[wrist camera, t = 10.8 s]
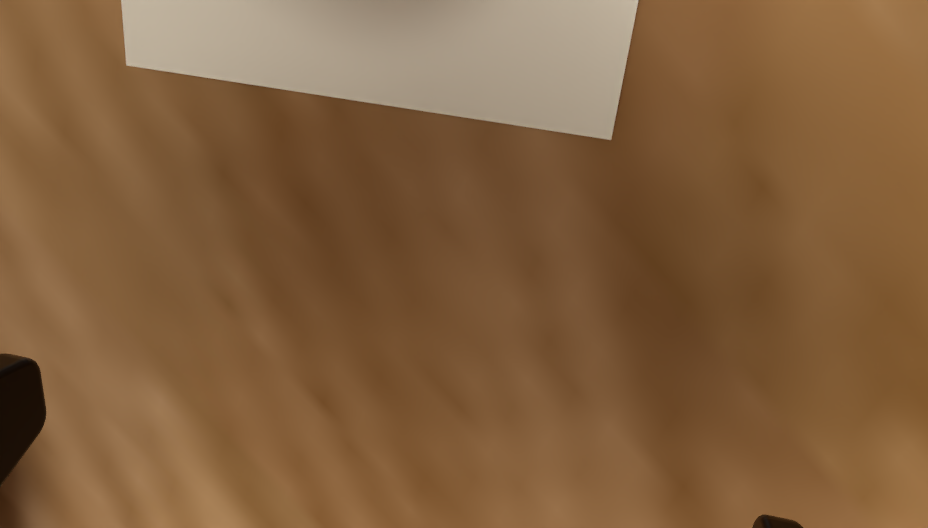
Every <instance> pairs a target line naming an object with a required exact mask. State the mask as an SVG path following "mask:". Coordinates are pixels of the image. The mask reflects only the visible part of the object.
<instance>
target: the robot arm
mask: <svg viewBox="0 0 928 528" xmlns="http://www.w3.org/2000/svg"><path fill="white" fill-rule="evenodd" d="M45 419H46V406H45V399H44V392H43V386H42V379H41V372H40V368H39V366H38V364H37V363H36V362H35V361H34V360H32V359H30V358H26V357H21V356H16V355H12V354H0V486H1V485H2V484H3V482H4V481H5V479H6V478H7V477H8V475H9V474H10V473H11V471H12V470H13V469H14V467H15V466H16V464H17V463H18V462H19V460H20V459H21V458H22V456H23V455H24V453H25V452H26V451H27V449H28V448H29V447H30V445H31V444H32V443H33V441H34V440H35V438H36V437H37V436H38V434H39V433H40V431H41V430H42V427H43V425H44V422H45ZM752 528H803V527H802V526H801V525H800V524H799V523H797V522H796V521H793V520H789V519H784V518H780V517H775V516H770V515H761V516H759V517H758V518H757V519H756V521H755V522H754V525H753V527H752Z"/></svg>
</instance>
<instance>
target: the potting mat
mask: <svg viewBox="0 0 928 528" xmlns="http://www.w3.org/2000/svg"><path fill="white" fill-rule="evenodd" d="M121 3H122V16H123V29H124V41H125V54H126V65H127V66H134V67H140V68H147V69H153V70H160V71H166V72H173V73H179V74H186V75H192V76H199V77H205V78H212V79H218V80H225V81H231V82H238V83H244V84H251V85H257V86H264V87H270V88H277V89H283V90H290V91H296V92H303V93H309V94H316V95H322V96H328V97H335V98H341V99H348V100H354V101H361V102H367V103H374V104H380V105H387V106H393V107H400V108H406V109H413V110H419V111H426V112H432V113H439V114H445V115H452V116H458V117H465V118H471V119H478V120H484V121H491V122H497V123H504V124H510V125H517V126H523V127H530V128H536V129H543V130H549V131H556V132H562V133H569V134H575V135H582V136H588V137H595V138H601V139H608V140H611V138H612V133H613V128H614V123H615V118H616V113H617V108H618V102H619V97H620V92H621V87H622V82H623V77H624V72H625V67H626V61H627V56H628V51H629V46H630V41H631V36H632V31H633V26H634V21H635V15H636V10H637V5H638V0H121Z"/></svg>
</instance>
